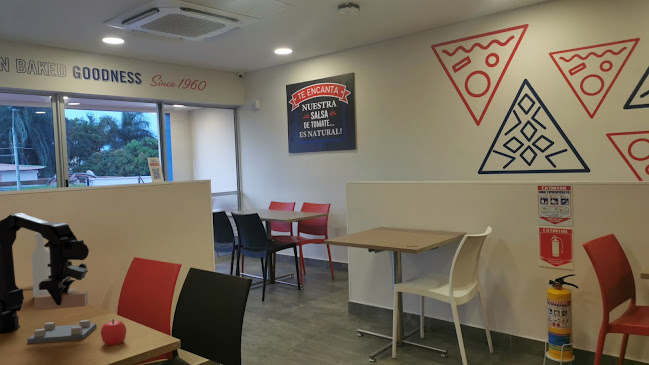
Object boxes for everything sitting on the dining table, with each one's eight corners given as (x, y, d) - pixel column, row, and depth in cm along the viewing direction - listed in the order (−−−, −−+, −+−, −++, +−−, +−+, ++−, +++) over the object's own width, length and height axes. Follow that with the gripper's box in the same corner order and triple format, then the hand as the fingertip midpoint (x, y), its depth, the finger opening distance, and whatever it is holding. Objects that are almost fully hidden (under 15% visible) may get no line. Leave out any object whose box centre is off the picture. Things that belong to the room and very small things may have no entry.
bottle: (53, 296, 220) (49, 232, 219) (33, 299, 215) (29, 234, 214) (52, 292, 226) (49, 231, 225) (33, 295, 222) (29, 232, 221)
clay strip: (34, 310, 162) (34, 297, 161) (38, 307, 165) (38, 295, 165) (84, 306, 165) (84, 293, 165) (87, 303, 168) (87, 291, 168)
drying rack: (27, 343, 158) (26, 333, 158) (44, 331, 170) (43, 321, 170) (83, 339, 160) (82, 329, 160) (96, 327, 172) (95, 318, 172)
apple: (117, 337, 161) (116, 314, 161) (132, 341, 157) (131, 317, 157) (95, 345, 154) (94, 321, 154) (111, 349, 150) (109, 324, 150)
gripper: (72, 263, 156) (74, 309, 156) (93, 253, 174) (95, 295, 175) (36, 265, 155) (39, 312, 155) (61, 255, 173) (63, 296, 174)
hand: (61, 303), depth 165 cm, fingers closed on clay strip, 4 cm apart
